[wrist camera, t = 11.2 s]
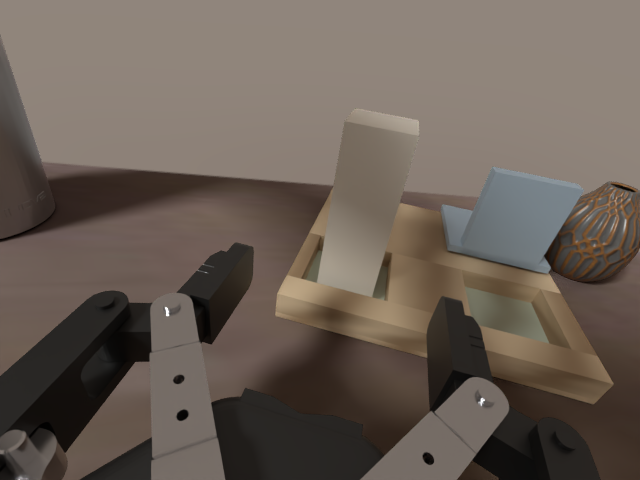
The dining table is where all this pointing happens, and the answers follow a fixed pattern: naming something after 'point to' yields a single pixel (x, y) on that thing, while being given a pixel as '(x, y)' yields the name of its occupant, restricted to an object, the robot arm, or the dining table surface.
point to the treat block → (366, 198)
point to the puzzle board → (458, 283)
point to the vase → (598, 234)
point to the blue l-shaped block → (512, 219)
